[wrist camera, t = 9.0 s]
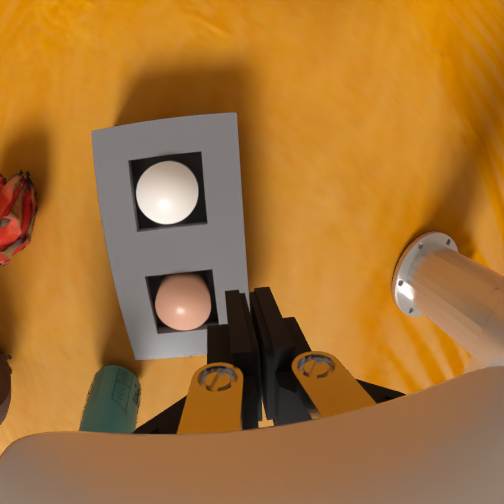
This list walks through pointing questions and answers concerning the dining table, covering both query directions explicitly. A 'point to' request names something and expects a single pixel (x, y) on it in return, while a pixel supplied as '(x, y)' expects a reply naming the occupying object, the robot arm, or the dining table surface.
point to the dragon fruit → (16, 214)
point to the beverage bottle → (112, 401)
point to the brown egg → (183, 300)
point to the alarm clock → (4, 387)
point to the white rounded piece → (167, 192)
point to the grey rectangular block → (172, 235)
